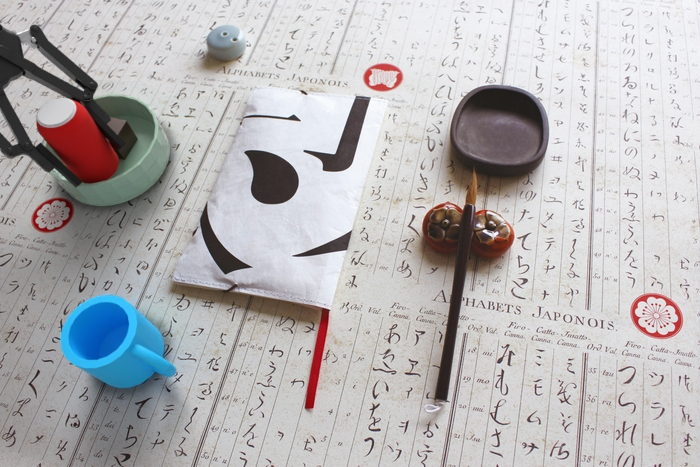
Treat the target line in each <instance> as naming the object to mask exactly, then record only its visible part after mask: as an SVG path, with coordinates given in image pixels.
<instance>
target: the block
mask: <svg viewBox="0 0 700 467" xmlns="http://www.w3.org/2000/svg"><path fill="white" fill-rule="evenodd" d="M110 119H111V120H110V122H109V123H107V125H108V126H109V127H110V128H111V129H112V130H113V131H114V132H115V133H116V134H117V135H118V136H119V137H120V138H121V139H122V140H123V141H124V142H125V143H126V144H125V145H124V146H123V147H122V148H121V149H119V150H118V149H117V148H116V147H115V146H114V145H113V144H112V143H111V142H110V141H109V140H108V139H107V138H106V139H107V141H108V142H109V144H110V145H111V146H112V148H113V149H114V151H115V152H116V154H117V155H118V158H119V159H122V160H125V159H126V158H127V156H128V154H129V153H130V151H131V149H132V148H133V146H134V144H135V143H136V141H137V139H138V138H137V137H136V135H135V133H134V132H133V130H132V129H131V127H130V125H129V124H128V122H127V121H126V120H121V119H116V118H111V117H110Z"/></svg>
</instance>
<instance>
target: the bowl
mask: <svg viewBox="0 0 700 467" xmlns="http://www.w3.org/2000/svg"><path fill="white" fill-rule="evenodd" d="M93 99H94V101H95V102H96V103H97V104H98V105H99V106H100V107H101V108H102V109H103V110H104V111H105V112H106V113H107V114H108V115H109V116H110V117H111V118H116V119H121V120H126V121H127V122H128V124H129V125H130V127H131V129H132V130H133V132H134V133H135V135H136V137H137V138H138V139H137V141H136V143H135V144H134V146H133V148H132V149H131V151H130V153H129V154H128V156H127V158H126V159H125V160H122V159H119V166H118V169H117V171H116V173H115V174H114V175H113V176H112V177H111V178H110V179H109V180H106V181H102V182H97V183H92V184H85V183H81V184H80V185H79V186H78V187H76V188H75V187H74V186H73V185H72V184H71V183H70V182H69V181H68V180H67V179H66V178H65V177H64V176H62V175H61V174H60V173H59V172H58V171H57V170H56V169H55V168H54V169H53V170H52V171H51V172H50V173H49V175H50V176H51V177H52V178H53V179H54V181H56V182H57V183H58V184H59V185H60V187H61V188H62V189H63V191H65V192H66V193H67V194H68V195H69V196H70V197H71V198H73V199H74V200H76V201H78V202H80V203H82V204H85V205H90V206H95V207H108V206H116V205H119V204H123V203H127V202H128V201H131V200H134V199H136V198H138V197H139V196H141V195H142V194H144V193H145V192H147V191H148V190H149V189H151V188H152V187H153V186H154V185H155V184H156V183H157V182H158V181H159V179H160V178H162V177H161V176H162V175H163V174H164V172H165V171H166V168H167V166H168V164H169V161H170V154H171V146H170V141H169V138H168V136H167V134H166V133H167V132H166V131H165V130H164V127H163V126H162V124H161V122H160V121H159V119H158V116H157V115H156V113H155V112H154V111H153V109H152V108H151V106H150V105H149V104H147V103H146V102H144V101H143V100H141V99H139V98H138V97H134V96H131V95H127V94H112V93H111V94H104V95H100V96H93ZM42 144H43V145H44V146H45V147H46V148H47V149H48V150H49V151H50V152H51V153H52V154H53V155H54V156H55V157H57V158H58V159H59V160H60V161H61V162H62V163H63V161H62V160H61V159H60V158H59V157H58V155H57V154H56V153H55V152H54V151H53V149H52V148H51V147H50V146H49V145H48V143H47V142H46V141H45V140H44V139H43V143H42ZM63 164H64V163H63ZM64 165H65V164H64ZM65 166H66V165H65ZM66 167H67V166H66ZM67 168H68V167H67Z"/></svg>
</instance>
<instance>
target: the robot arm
mask: <svg viewBox="0 0 700 467" xmlns="http://www.w3.org/2000/svg"><path fill="white" fill-rule="evenodd" d="M23 44H25V45H27V46H28V47H29V48H31V49H34V50H35V49H37V50H38V51H39V53H40V54H41V55H42V56H44V58H46V60H48V61H49V62H51V63H52V64H53V65H54V66H55V67H56V68H57V69H59V70H60V71H61V72H62V73H64V74H65V75H66V76H67V77H68V78H69V79H70V80H72V81H73V82H74V83H75V84H77V86H78V87H80V88H81V89H80V88H78V87H77V86H76V85H73V84H71V83H70V82H68V81H66V80H64V79H62V78H60V77H58V76H56V75H54V74H53V73H51V72H49V71H47V70H46V69H44V68H42V67H40V66H38V65H37V63H35V62H33V61H31V60H29V59H27V58H25V57H24V55H25V54H24V51H23ZM21 77H25V78H26V79H28V80H32V81H34V82H36V83H37V84H39V85H42V86H43V87H45V88H47V89H49V90H51V91H53V92H55V93H57V94H58V95H60V96H62V97H63V98H68V99H71V100H74V101H76V102H78V103H80V104H81V105H83V106H84V107H85V108H86V110H87V111H88V113H89V114H90V116H91V117H92V119H93V120H94V122H95V123H96V125H97V126H98V127H99V129H100V130H101V132H102V133H103V135H104V136H105V138H107V139H108V140H109V141H110V142H111V143H112V144H113V145H114V146H115V147H116V148H117V149H118V150H119V149H121V148H122V147H123V146H124V145H125V144H126V143H125V142H124V141H123V140H122V139H121V138H120V137H119V136H118V135H117V134H116V133H115V132H114V131H113V130H112V129H111V128H110V127H109V126H108V125H107V123H109V122H110V120H111V119H110V116H109V115H108V114H107V113H106V112H105V111H104V110H103V109H102V108H101V107H100V106H99V105H98V104H97V103H96V102H95V101H94V99H93V98H94V95H95V93H96V92H97V89H98V87H99V85H98V84H99V83H98V82H97V81H96V80H95V78H92V76H90V75H89V74H88V73H87V72H86V71H84V70H83V69H82V68H81V67H80V66H78V65H77V64H76V63H75V62H74V61H72V59H71V58H69V57H68V56H67V55H66V54H65V53H64V52H63V51H61V49H59V48H58V47H56V46H55V45H54V44H53V43H52V42H51V41H50V40H49V39H48V37H47V35H46V34H45V33H44V31H43V29H42V28H41V26H39V25H38V24H36V23H35V24H31V25H30V26H29V29H26V30H24V31H21V32H17V33H16V32H14V31H12V30H10V29H7V28H5V27H4V26H3V25H2V23H0V113H1V115H2V117H3V119H4V121H5V122H6V124H7V126H8V128H9V130H10V132H11V133H12V135H13V137H14V139H15V141H16V144H12V143H11V142H10V141H9V140H8V139H7V138H6V137H5V135H4V134H3V133H2V132H0V152H1V154H2V155H3V156H4V157H5V158H6V159H9V160H13V159H15V158H17V157H20V156H27V157H29V159H31V160H32V161H33V162H34V163H35V164H36V165H37V166H39V168H40V169H42V170H43V171H44V172H46V173H48V174H50V172H51V171H52V170H53V169H54V168H55V169H56V170H57V171H58V172H59V173H60V174H61V175H62V176H64V177H65V178H66V179H67V180H68V181H69V182H70V183H71V184H72V185H73V186H74V187H75V188H76V187H78V186H79V185H80V184H81V183H82V181H81V180H80V179H79V178H78V177H77V176H76V175H75V174H74V173H73V172H72V171H70V170H69V169H68V168H67V167H66V166H65V165H64V164H63V163H62V162H61V161H60V160H59V159H58V158H57V157H55V156H54V155H53V154H52V153H51V152H50V151H49V150H48V149H47V148H46V147H45V146H44V145H43V143H42V142H39V143H38V144H37V145H34V144H33V142H32V140H31V138H30V136H29V134H28V133H27V131H26V128H25V127H24V125H23V123H22V121H21V120H20V118H19V116H18V115H17V112H16V111H15V109H14V107H13V106H12V103H11V102H10V99H9V98H8V95H7V94H6V91H5V90H6V89H7V88H8V87H9V85H10V84H11V83H12V82H13V81H16V80H19V79H20V78H21Z"/></svg>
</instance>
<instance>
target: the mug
mask: <svg viewBox="0 0 700 467" xmlns="http://www.w3.org/2000/svg"><path fill="white" fill-rule="evenodd" d="M59 340H60V349H61V351H62V354H63V355H64V358H65V359H66V360H67V361H68V362H69V363H71V364H72V365H74V366H75V367H76V368H79V369H80V370H82V371H84V372H85V373H87V374H89V375H90V376H92V377H94V378H96V379H98V380H99V381H101V382H103V383H104V384H106V385H108V386H110V387H114V388H117V389H130V388H133V387H136V386H138V385H142V384H143V383H144V382H146V381H147V380H148V379H150V378H151V377H152V376H153V375H154V374H155V373H157V374H158V375H161V376H164V377H165V378H172V377H174V376H175V375H176V373H177V367H176V366H175V365H174V364H173V363H171V361H168V360H167V359H165V358H164V354H165V342H164V337H163V335H162V333H161V332H160V330H159V328H157V327H156V325H154V324H153V323H152V322H151V321H150V320H149V319H147V317H145V316H144V315H143V313H141V312H140V311H139V310H138V309H137V308H136V306H134V305H133V304H132V303H130V302H129V301H128V300H126V299H125V298H123V297H121V296H118V295H115V294H100V295H98V296H94V297H90V298H88V299H87V300H85V301H84V302H82V303H80V304H79V305H77V307H76V308H74V309H73V311H71V313H70V314H69V315H68V317H67V318H66V320H65V321H64V323H63V325H62V328H61V332H60V337H59Z"/></svg>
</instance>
